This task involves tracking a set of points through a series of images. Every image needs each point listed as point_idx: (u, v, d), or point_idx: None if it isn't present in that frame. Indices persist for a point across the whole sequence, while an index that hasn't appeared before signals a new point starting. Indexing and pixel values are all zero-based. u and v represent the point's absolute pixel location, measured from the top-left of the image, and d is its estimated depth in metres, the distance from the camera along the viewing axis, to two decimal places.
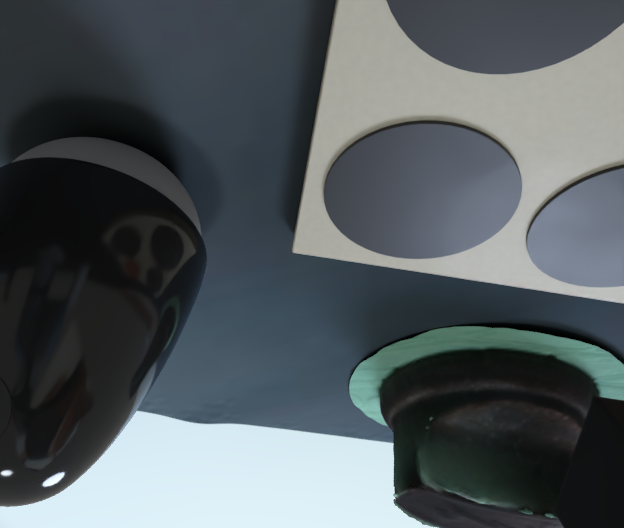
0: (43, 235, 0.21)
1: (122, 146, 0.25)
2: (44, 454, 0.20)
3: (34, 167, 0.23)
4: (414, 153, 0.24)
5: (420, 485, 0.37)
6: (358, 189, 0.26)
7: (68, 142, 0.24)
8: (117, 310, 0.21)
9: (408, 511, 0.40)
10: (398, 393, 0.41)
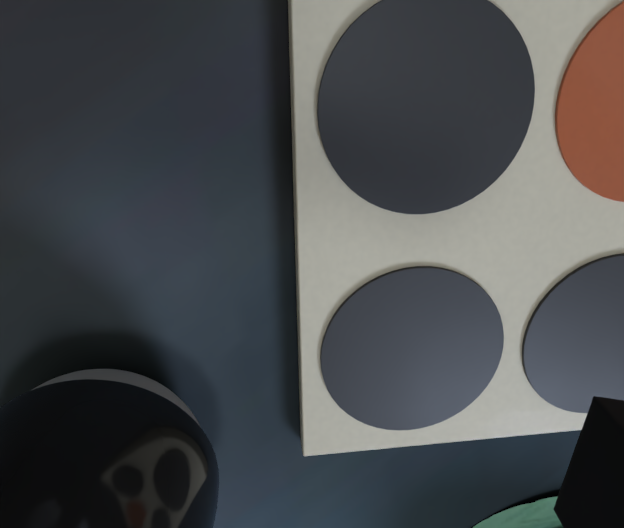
0: (51, 447, 0.20)
1: (119, 370, 0.25)
2: None
3: (35, 395, 0.22)
4: (394, 304, 0.26)
5: None
6: (353, 357, 0.27)
7: (65, 375, 0.25)
8: (138, 511, 0.19)
9: None
10: None
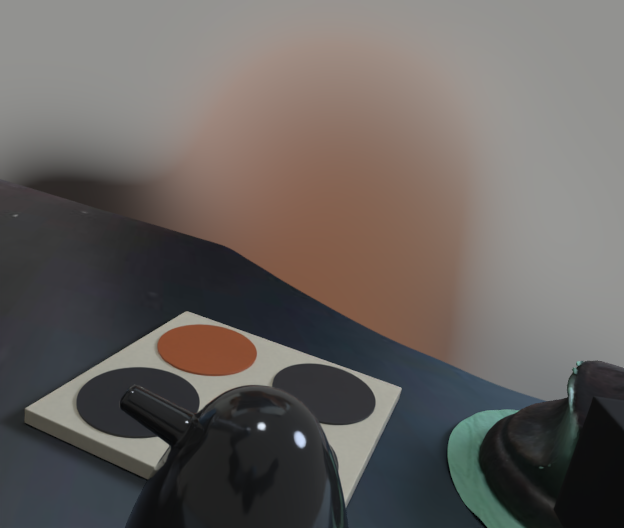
0: None
1: None
2: None
3: None
4: None
5: None
6: None
7: None
8: None
9: None
10: (561, 524, 0.38)
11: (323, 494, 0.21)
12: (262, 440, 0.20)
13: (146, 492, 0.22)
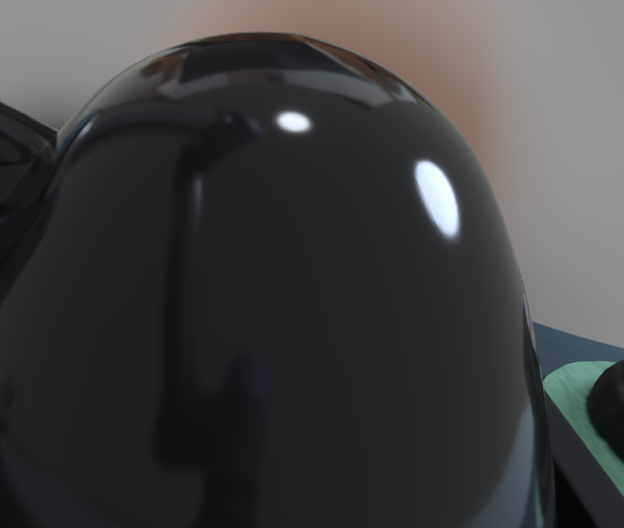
0: None
1: None
2: None
3: None
4: None
5: None
6: None
7: None
8: None
9: None
10: None
11: (525, 336, 0.06)
12: (308, 98, 0.05)
13: None
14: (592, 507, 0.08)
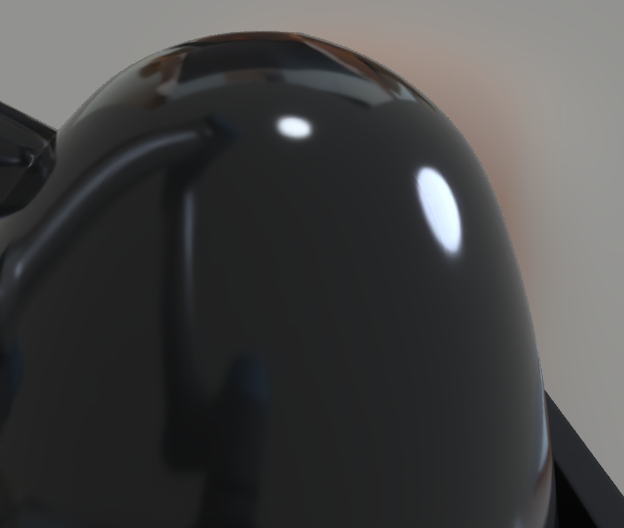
0: None
1: None
2: None
3: None
4: None
5: None
6: None
7: None
8: None
9: None
10: None
11: (525, 336, 0.06)
12: (308, 98, 0.05)
13: None
14: (592, 507, 0.08)
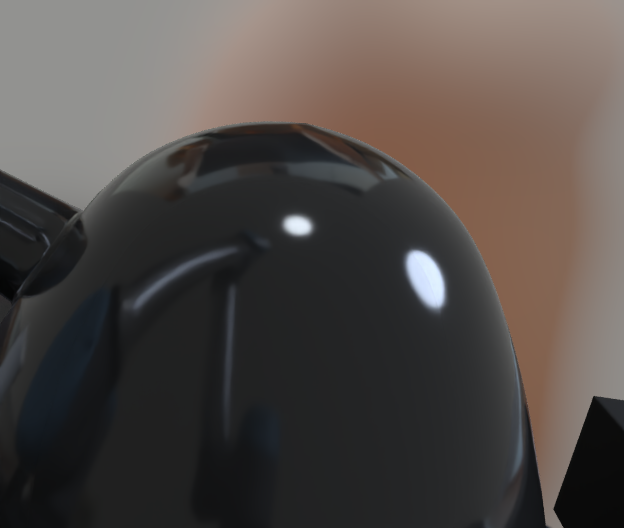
0: None
1: None
2: None
3: None
4: None
5: None
6: None
7: None
8: None
9: None
10: None
11: (518, 419, 0.06)
12: (315, 209, 0.05)
13: None
14: None
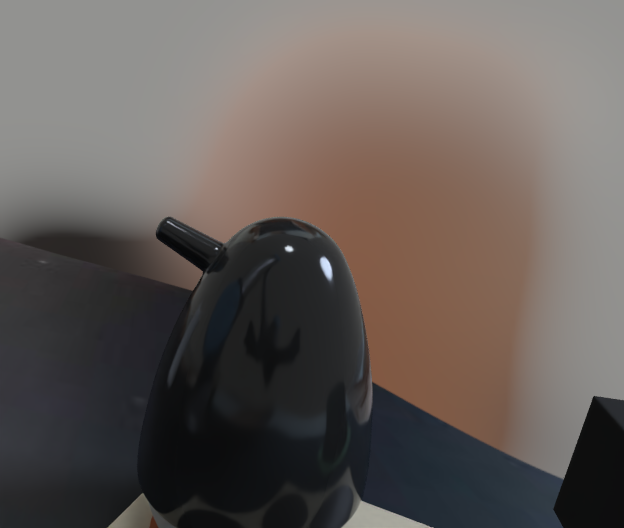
0: None
1: None
2: None
3: None
4: None
5: None
6: None
7: None
8: None
9: None
10: None
11: (348, 300, 0.23)
12: (292, 245, 0.22)
13: (183, 314, 0.24)
14: None
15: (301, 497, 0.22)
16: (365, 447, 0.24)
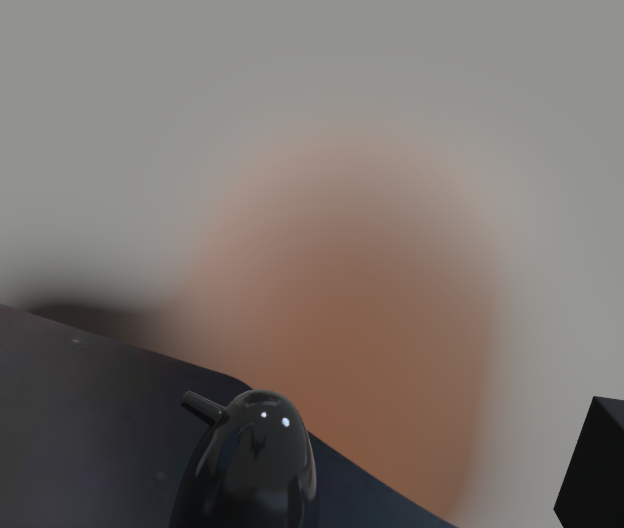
0: None
1: None
2: None
3: None
4: None
5: None
6: None
7: None
8: None
9: None
10: None
11: (300, 449, 0.37)
12: (265, 418, 0.36)
13: (197, 453, 0.38)
14: None
15: None
16: None
